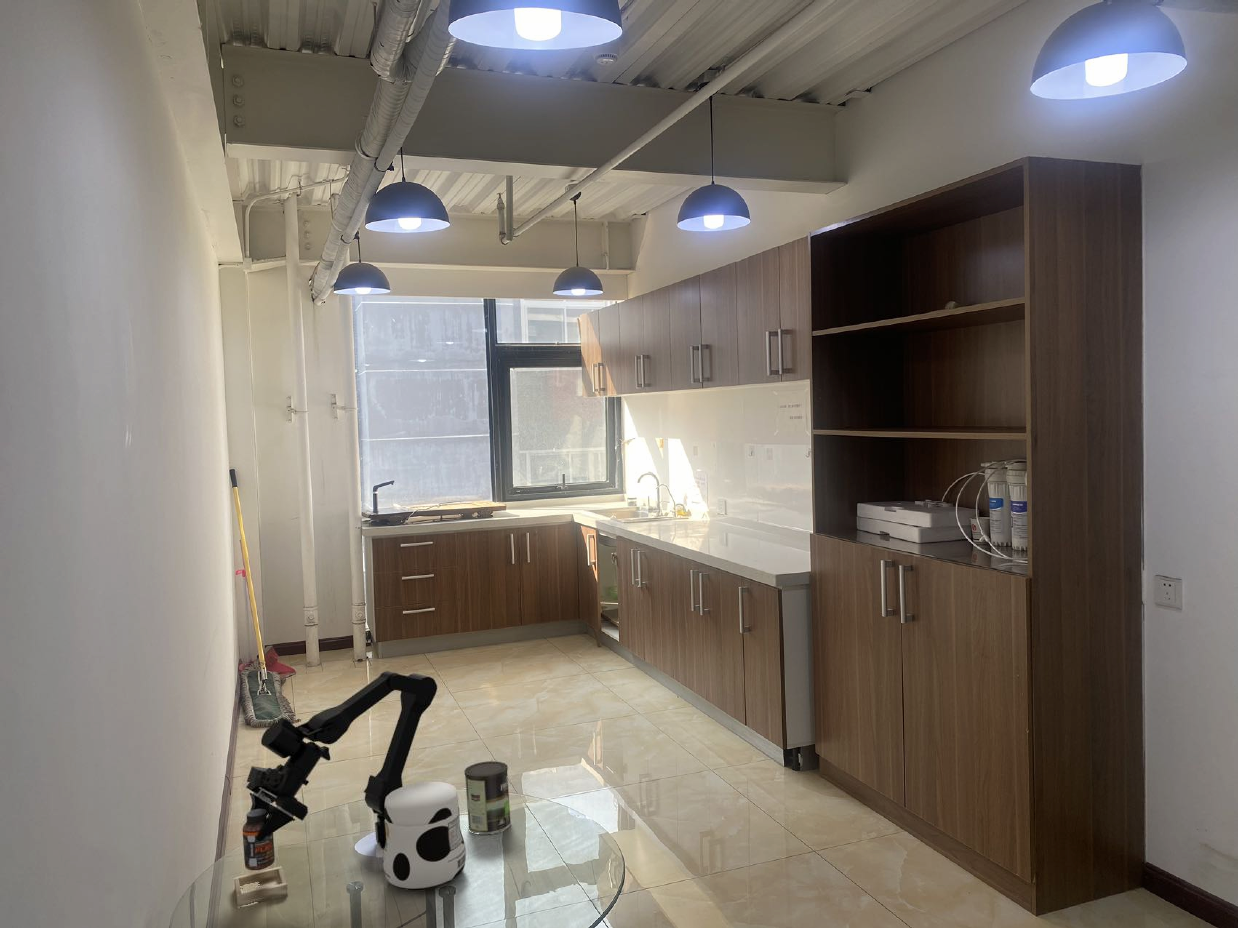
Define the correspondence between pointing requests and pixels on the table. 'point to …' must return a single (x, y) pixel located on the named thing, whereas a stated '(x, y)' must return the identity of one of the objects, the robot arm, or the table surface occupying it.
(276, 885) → the tray
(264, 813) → the supplement bottle
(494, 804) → the coffee can
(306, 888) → the table surface
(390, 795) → the milk container
